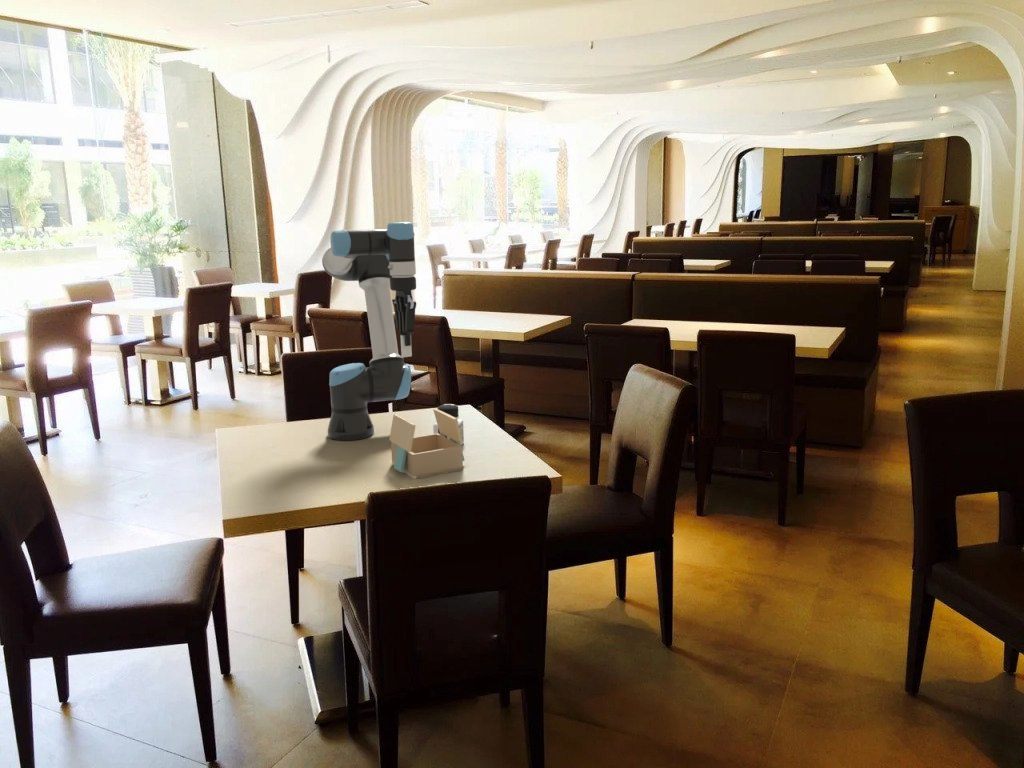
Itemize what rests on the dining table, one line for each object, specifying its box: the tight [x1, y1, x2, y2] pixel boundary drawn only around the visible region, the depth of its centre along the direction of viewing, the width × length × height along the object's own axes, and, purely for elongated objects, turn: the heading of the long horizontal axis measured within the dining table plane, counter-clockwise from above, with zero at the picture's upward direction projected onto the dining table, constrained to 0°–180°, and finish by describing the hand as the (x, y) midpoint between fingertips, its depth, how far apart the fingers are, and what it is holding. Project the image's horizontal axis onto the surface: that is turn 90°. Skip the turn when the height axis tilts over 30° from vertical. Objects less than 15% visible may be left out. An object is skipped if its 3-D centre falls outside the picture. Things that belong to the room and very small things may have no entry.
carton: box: [390, 433, 464, 480], centre depth 236 cm, size 17×15×7 cm
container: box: [432, 403, 465, 446], centre depth 257 cm, size 8×8×13 cm
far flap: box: [432, 408, 465, 462], centre depth 239 cm, size 14×14×1 cm
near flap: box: [388, 413, 416, 473], centre depth 231 cm, size 14×14×1 cm
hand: (406, 356), depth 242 cm, fingers closed
